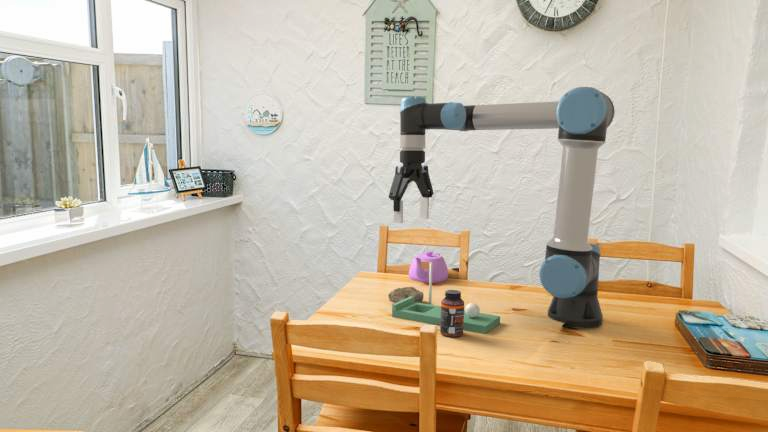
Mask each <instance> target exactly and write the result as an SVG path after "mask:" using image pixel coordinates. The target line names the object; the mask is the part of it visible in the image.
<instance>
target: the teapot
mask: <svg viewBox="0 0 768 432" xmlns="http://www.w3.org/2000/svg"><path fill="white" fill-rule="evenodd" d="M421 261H423V262H432V284H439V283H443V282H444V281H446V280H448V277H449V270H448V265H447V263H446V260H445V259H444V256H443V255H441V253H438V252H437V253H436V252H435V253H434V252H433V251H432V250H426V251H425V252H424V253H420V254H417V255H415V256H414V258H413V260H412V262H411V264H410V267H409V270H408V278H409V279H410V280H411V281H416V282H420V283H427V284H429V272H430V270H426V269H421Z"/></svg>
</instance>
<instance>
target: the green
mask: <svg viewBox="0 0 768 432" xmlns="http://www.w3.org/2000/svg"><path fill="white" fill-rule="evenodd" d="M391 306H392V307H391V309H392V310H391V312H392V313H391V317H392V318H399V319H404V320H408V321H415V322H420V323H426V324H429V325H435V324H437V325H436V326H440V324H441V305H435V304H431V305H430V304H429V303H423V302H420V303H418V302H414V297H411V296H410V297H408V298H406V299H404V300H401V301H399V302H397V303H393V304H392V305H391ZM500 323H501V316H500V315H495V314H489V313H482V312H480V313H479V315H478V316H477V317H475V318H471V317H468V316H467V315H466V313H465V309H464V323H463V331H469V332H473V333H481V334H485V335H486V334H487V333H489V332H490V331H491V330H493V329H494V328H496V326H498V325H500Z"/></svg>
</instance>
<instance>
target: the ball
mask: <svg viewBox="0 0 768 432" xmlns="http://www.w3.org/2000/svg"><path fill="white" fill-rule="evenodd" d="M464 310H465V313H466V315H467V316H468V317H471V318H475V317H477V316H478V315H479V313H481V309H480V307H479V305H478V304H477V303H474V302H470V303H468V304H466V306H465V307H464Z"/></svg>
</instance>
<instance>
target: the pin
mask: <svg viewBox="0 0 768 432" xmlns="http://www.w3.org/2000/svg"><path fill="white" fill-rule="evenodd" d="M421 269H426V270H430V272H429V283H428V286H429V287H428V304H430V305H432V299H433V298H432V297H433V295H432V294H433V283H432V262H423V261H421Z"/></svg>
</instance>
